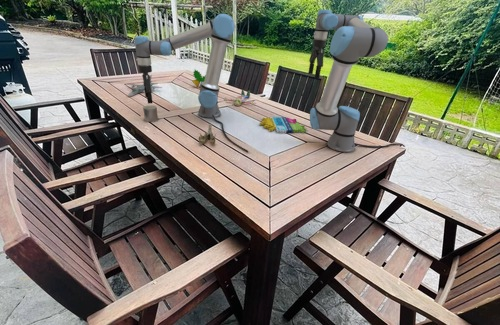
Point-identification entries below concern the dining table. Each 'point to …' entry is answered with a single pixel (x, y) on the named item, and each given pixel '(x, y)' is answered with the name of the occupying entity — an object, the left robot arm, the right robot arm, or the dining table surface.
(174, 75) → the dining table surface
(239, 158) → the dining table surface
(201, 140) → the jawbone
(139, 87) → the airplane
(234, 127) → the dining table surface
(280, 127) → the sign
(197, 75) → the ornament
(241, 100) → the toy
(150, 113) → the tin
